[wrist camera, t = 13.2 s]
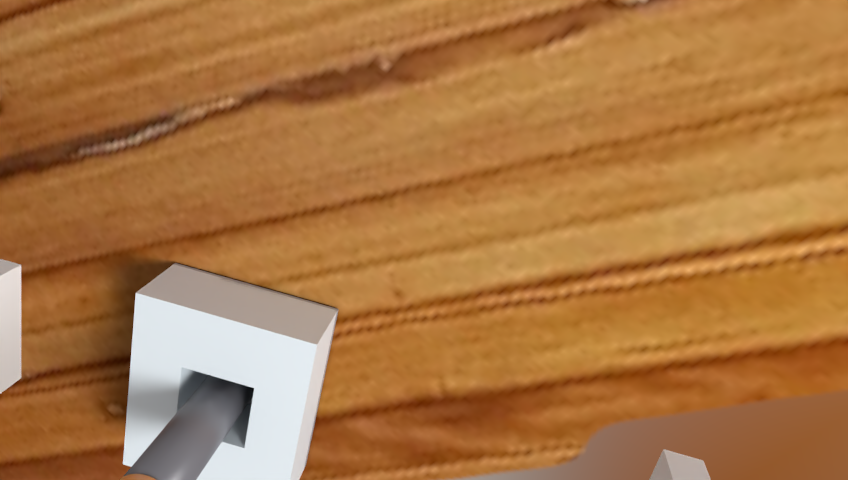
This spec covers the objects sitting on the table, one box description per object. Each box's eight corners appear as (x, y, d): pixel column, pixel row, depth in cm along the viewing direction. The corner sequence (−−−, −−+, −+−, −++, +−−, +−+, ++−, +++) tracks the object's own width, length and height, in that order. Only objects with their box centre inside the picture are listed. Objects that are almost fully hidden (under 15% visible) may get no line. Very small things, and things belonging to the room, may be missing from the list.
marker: (215, 385, 48) (101, 528, 35) (220, 346, 47) (105, 478, 34) (260, 399, 48) (162, 547, 35) (266, 359, 47) (168, 498, 34)
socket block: (159, 421, 51) (122, 464, 46) (175, 262, 46) (135, 292, 41) (305, 465, 50) (283, 512, 46) (338, 309, 45) (317, 344, 40)
